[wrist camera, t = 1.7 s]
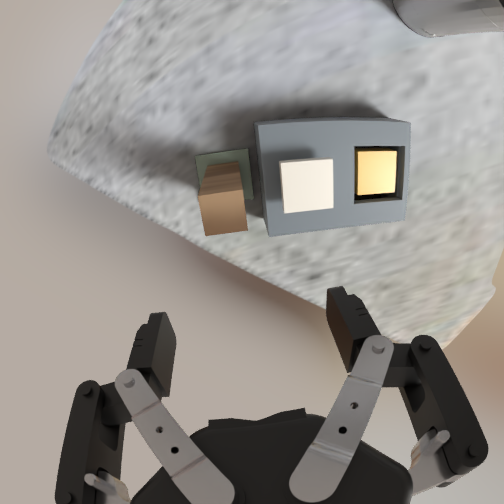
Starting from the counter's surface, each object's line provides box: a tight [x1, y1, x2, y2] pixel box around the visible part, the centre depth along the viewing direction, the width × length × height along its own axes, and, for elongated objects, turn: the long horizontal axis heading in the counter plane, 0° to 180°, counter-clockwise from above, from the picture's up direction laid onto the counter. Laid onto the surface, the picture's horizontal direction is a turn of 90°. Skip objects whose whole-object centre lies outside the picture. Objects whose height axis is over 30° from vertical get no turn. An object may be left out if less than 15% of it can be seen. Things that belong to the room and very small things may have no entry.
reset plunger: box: [354, 148, 397, 195], centre depth 30 cm, size 5×5×2 cm
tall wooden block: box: [198, 161, 248, 236], centre depth 28 cm, size 4×4×11 cm
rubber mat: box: [195, 148, 254, 200], centre depth 33 cm, size 6×6×1 cm
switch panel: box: [254, 117, 411, 237], centre depth 31 cm, size 12×17×5 cm
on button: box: [279, 157, 333, 213], centre depth 28 cm, size 5×5×4 cm
